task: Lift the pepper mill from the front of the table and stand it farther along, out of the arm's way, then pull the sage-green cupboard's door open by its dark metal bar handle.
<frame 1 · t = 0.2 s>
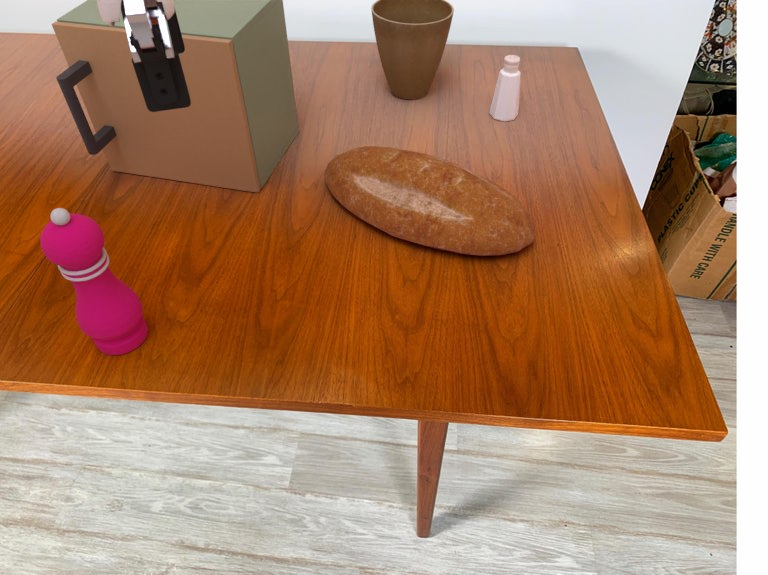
hand: (168, 78, 47), 34 cm above the table, tool pointing down, fingers open, 9 cm apart
bread: (422, 211, 90), on the table
pepper mill: (122, 337, 73), on the table
cupboard: (210, 148, 102), on the table
cupboard door: (154, 123, 85), point 12 cm above the table, hinge at 0.0°
plant pot: (410, 91, 116), on the table
salt shaker: (503, 115, 110), on the table
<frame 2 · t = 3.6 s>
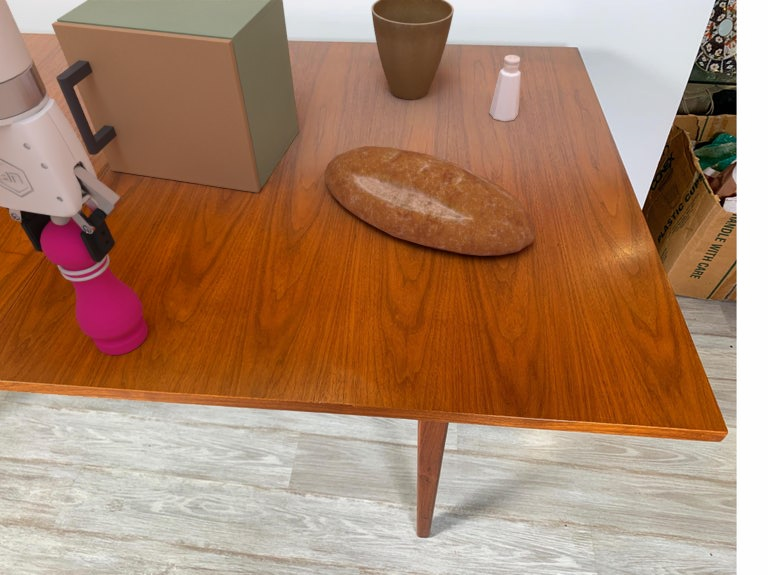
hand: (76, 247, 62), 15 cm above the table, tool pointing down, fingers closed on pepper mill, 6 cm apart
pepper mill: (123, 337, 73), on the table, touching gripper
everything else where it was.
when the fingers open (15 cm above the table, at t = 10.0 s): pepper mill stays where it is, on the table.
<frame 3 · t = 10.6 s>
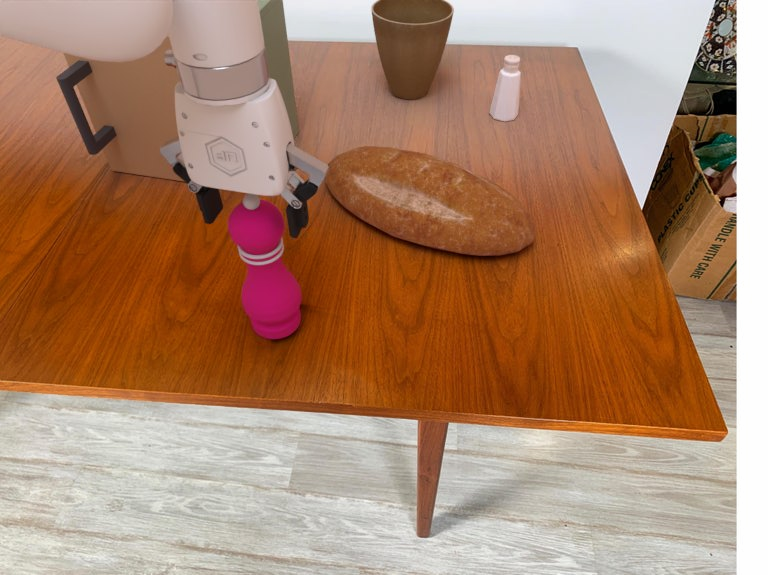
hand: (256, 222, 62), 16 cm above the table, tool pointing down, fingers open, 9 cm apart
pepper mill: (276, 321, 74), on the table
everything else where it was.
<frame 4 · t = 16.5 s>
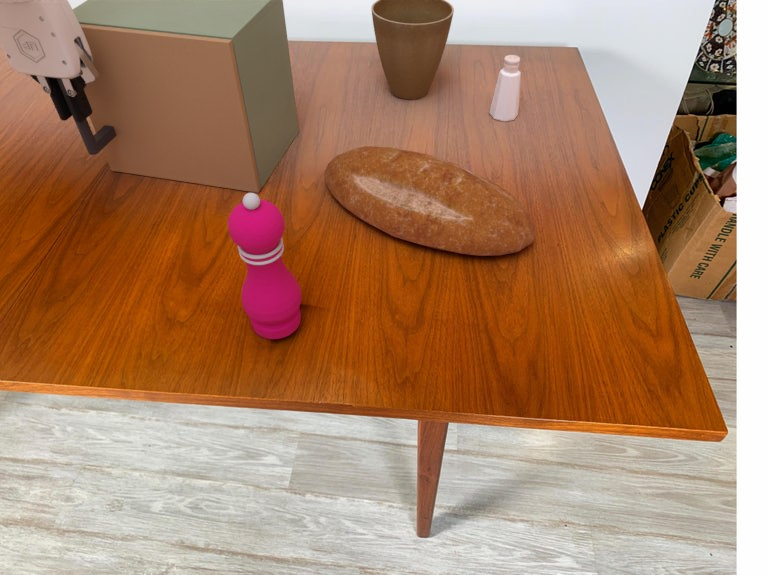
hand: (77, 115, 83), 14 cm above the table, tool pointing down, fingers closed on cupboard door
cupboard door: (154, 123, 85), point 12 cm above the table, hinge at 0.0°, touching gripper
everything else where it was.
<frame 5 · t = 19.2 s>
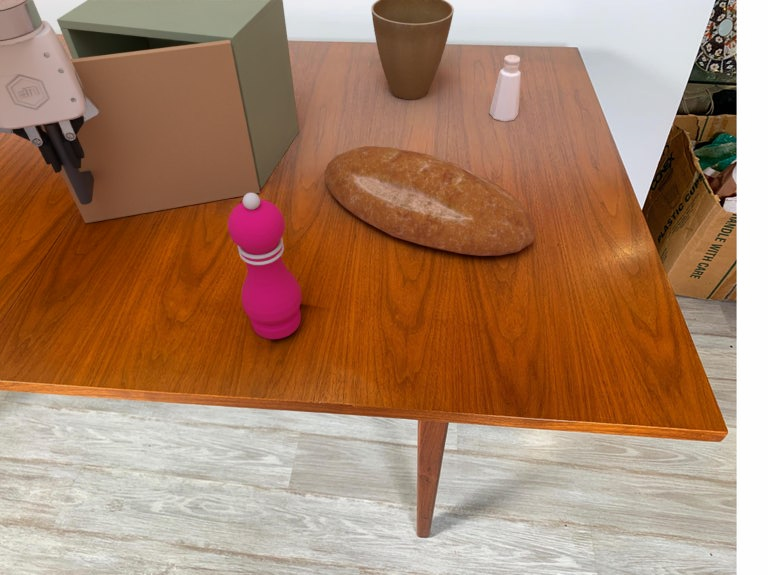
hand: (68, 164, 75), 14 cm above the table, tool pointing down, fingers closed on cupboard door
cupboard door: (152, 149, 80), point 12 cm above the table, hinge at 30.2°, touching gripper
everything else where it was.
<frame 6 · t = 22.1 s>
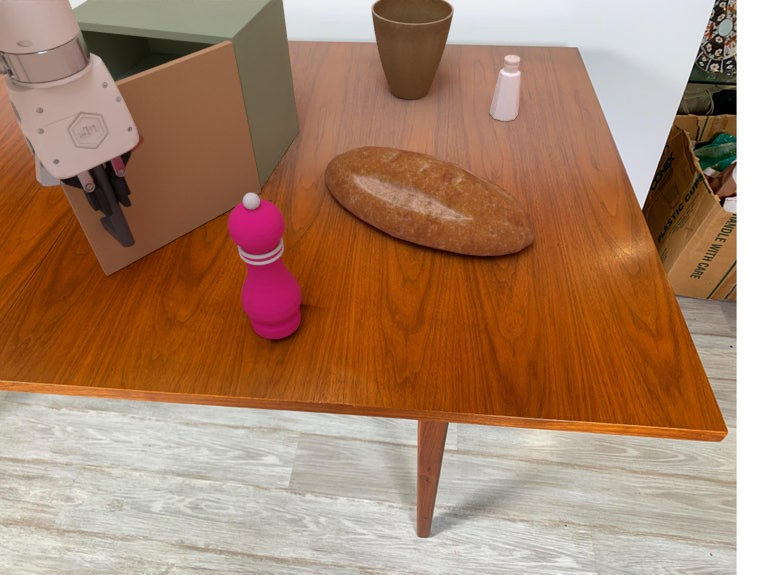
hand: (113, 205, 69), 14 cm above the table, tool pointing down, fingers closed, pressing on cupboard door
cupboard door: (178, 169, 76), point 12 cm above the table, hinge at 59.5°, touching gripper
everything else where it was.
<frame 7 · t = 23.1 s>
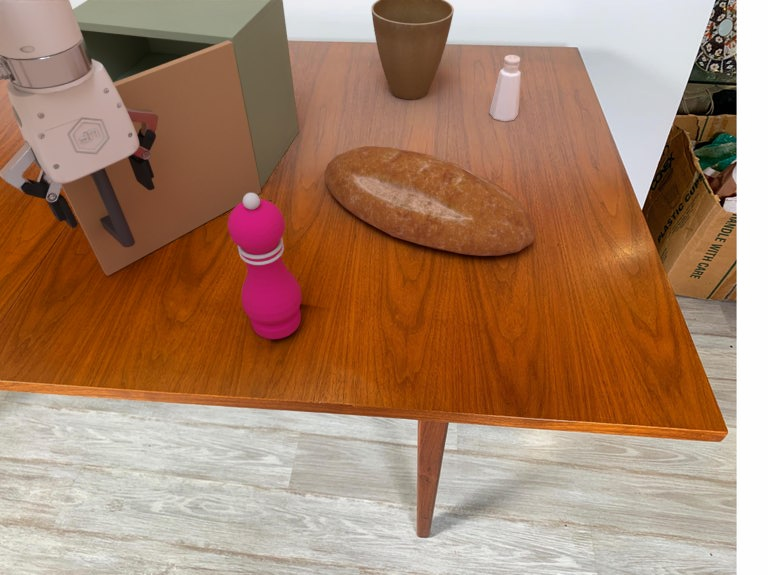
hand: (109, 202, 68), 14 cm above the table, tool pointing down, fingers open, 9 cm apart
cupboard door: (178, 169, 76), point 12 cm above the table, hinge at 59.5°
everything else where it was.
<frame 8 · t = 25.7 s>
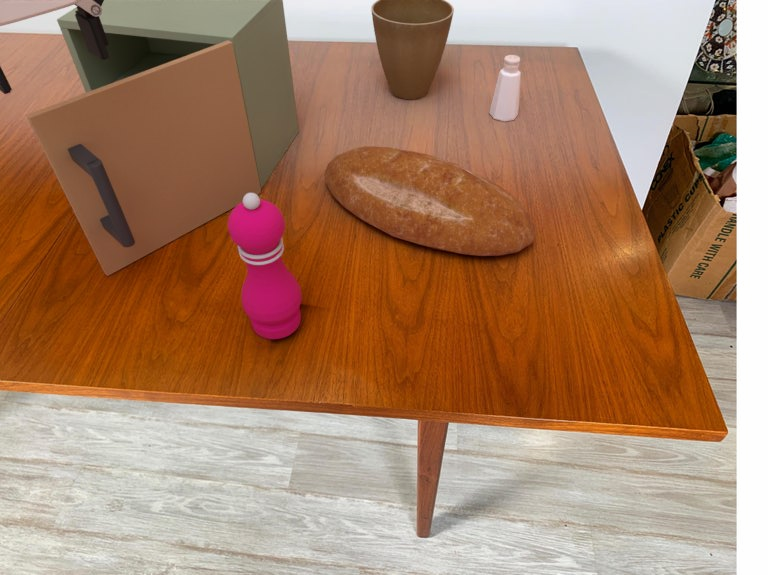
hand: (53, 71, 57), 30 cm above the table, tool pointing down, fingers open, 9 cm apart
nothing on the table moved.
at the end: cupboard door at +60° (first picture: +0°); pepper mill inside the target area (0.1 cm from its centre), on the table; pepper mill tilted 0° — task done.
